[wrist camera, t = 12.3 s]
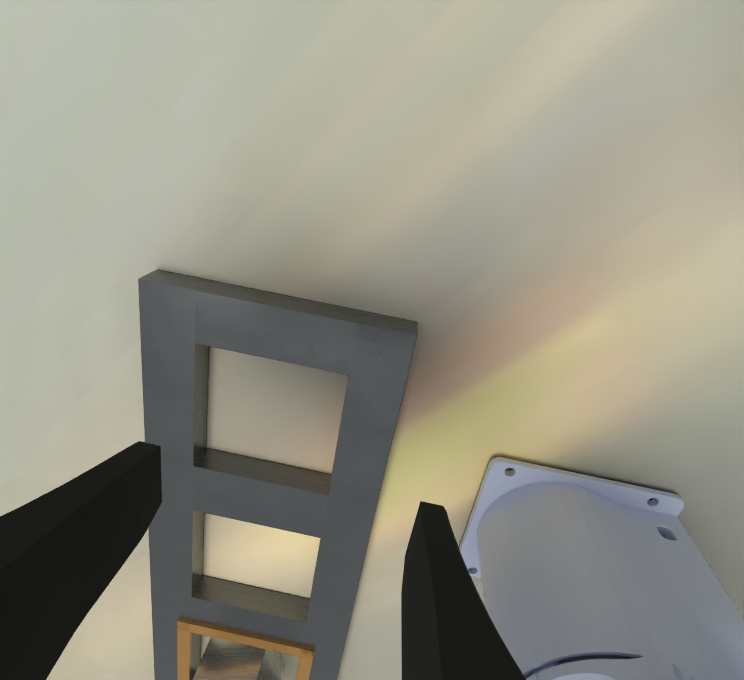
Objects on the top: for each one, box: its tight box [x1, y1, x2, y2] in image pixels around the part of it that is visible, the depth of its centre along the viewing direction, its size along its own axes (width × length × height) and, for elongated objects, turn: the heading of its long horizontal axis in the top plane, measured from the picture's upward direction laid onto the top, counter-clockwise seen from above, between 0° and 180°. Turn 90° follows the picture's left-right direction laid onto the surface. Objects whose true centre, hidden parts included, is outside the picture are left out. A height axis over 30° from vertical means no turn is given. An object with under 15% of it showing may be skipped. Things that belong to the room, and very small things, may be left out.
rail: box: [138, 270, 418, 680], centre depth 27 cm, size 12×32×2 cm, turn 170°
